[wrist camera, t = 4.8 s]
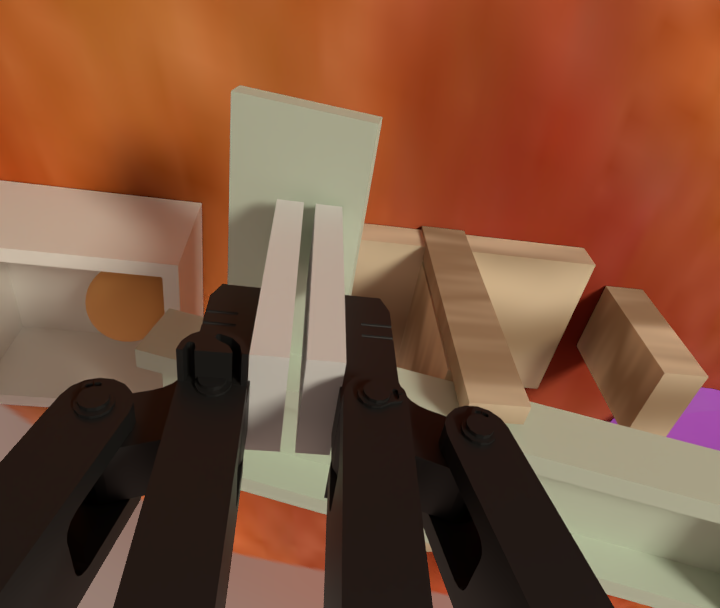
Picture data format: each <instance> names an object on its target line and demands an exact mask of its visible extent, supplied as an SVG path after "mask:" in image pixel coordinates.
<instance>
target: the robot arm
mask: <svg viewBox="0 0 720 608" xmlns="http://www.w3.org/2000/svg"><path fill="white" fill-rule="evenodd" d="M303 209H304V202H298V201H289V200H281V199H277V202H276V207H275V213H274V219H273V224H272V230H271V235H270V241H269V247H268V252H267V258H266V263H265V269H264V274H263V280H262V286H261V288H257V287H247V286H238V285H228V284H222V285H221V286H220V287H219V288H218V289H217V290H216V291H215V292H214V293H212V294H211V295H210V298H209V301H208V305H207V308H206V312H205V315H204V318H203V323H202V325H201V328H200V331H199V332H195V333H192V334H190V335H189V336H187V337H186V338H184V339H183V340H181V342H180V343H179V345H178V346H177V348H176V362H177V380H176V381H175V382H174V383H172V384H169V385H167V386H165V387H162V388H158V389H154V390H149V391H143V392H136V393H132V391H131V390H130V389H129V388H128V387H127V386H126V384H124V383H122V382H119V381H117V380H115V379H108V378H95V379H88V380H84V381H81V382H79V383H77V384H74V385H72V386H70V387H69V388H68V389H67V390H65V391H64V392H63V393H62V394H60V395H59V396H58V398H57V399H56V400H55V401H54V402H53V403H52V404H51V406H50V407H49V408H48V409H47V410H46V411H45V412H44V413H43V415H42V416H41V417H40V418H39V419H38V420H37V421H36V422H35V424H34V425H33V426H32V427H31V428H30V429H29V431H28V432H27V433H26V434H25V435H24V436H23V437H22V438H21V440H20V441H19V442H18V443H17V444H16V445H15V446H14V447H13V449H12V450H11V451H10V452H9V453H8V454H7V455H6V456H5V458H4V459H3V460H2V461H1V462H0V608H77V606H78V605H79V603H80V601H81V600H82V598H83V596H84V595H85V593H86V591H87V590H88V588H89V586H90V584H91V583H92V581H93V579H94V578H95V576H96V574H97V573H98V571H99V569H100V567H101V566H102V564H103V562H104V561H105V559H106V557H107V556H108V554H109V552H110V550H111V549H112V547H113V545H114V544H115V542H116V540H117V538H118V537H119V535H120V534H121V532H122V530H123V528H124V527H125V525H126V523H127V522H128V520H129V518H130V517H131V515H132V513H133V511H134V509H135V508H136V506H137V505H138V503H139V501H140V499H141V496H144V495H145V497H144V501H143V504H142V508H141V511H140V515H139V518H138V522H137V526H136V529H135V533H134V536H133V540H132V543H131V547H130V550H129V554H128V557H127V561H126V564H125V568H124V571H123V575H122V578H121V582H120V585H119V589H118V592H117V596H116V600H115V603H114V607H113V608H225V604H226V596H227V588H228V581H229V573H230V566H231V557H232V550H233V543H234V535H235V527H236V520H237V512H238V504H239V497H240V489H241V481H242V474H243V457H244V450H260V451H274V452H280V446H281V437H282V427H283V417H284V408H285V398H286V389H287V379H288V369H289V360H290V349H291V338H292V327H293V317H294V306H295V295H296V284H297V273H298V263H299V252H300V241H301V230H302V219H303ZM330 450H331V463H330V468H329V473H328V479H327V484H326V490H325V495H324V498H327V522H326V552H325V583H324V608H433V605H432V596H431V588H430V579H429V571H428V562H427V554H426V546H425V537H424V531H425V533H426V536H427V539H428V541H429V544H430V547H431V549H432V552H433V555H434V557H435V560H436V563H437V565H438V568H439V571H440V573H441V576H442V579H443V581H444V584H445V587H446V589H447V592H448V595H449V597H450V600H451V602H452V605H453V608H614V606H613V605H612V603H611V601H610V600H609V598H608V596H607V594H606V593H605V591H604V589H603V588H602V586H601V584H600V583H599V581H598V579H597V577H596V576H595V574H594V572H593V571H592V569H591V567H590V566H589V564H588V562H587V560H586V559H585V557H584V555H583V554H582V552H581V550H580V549H579V547H578V545H577V543H576V542H575V540H574V538H573V537H572V535H571V533H570V532H569V530H568V528H567V526H566V525H565V523H564V521H563V520H562V518H561V516H560V515H559V513H558V511H557V509H556V508H555V506H554V504H553V503H552V501H551V499H550V498H549V496H548V494H547V492H546V491H545V489H544V487H543V486H542V484H541V482H540V481H539V479H538V477H537V475H536V474H535V472H534V470H533V469H532V467H531V465H530V464H529V462H528V460H527V458H526V457H525V455H524V453H523V452H522V450H521V448H520V447H519V445H518V443H517V441H516V440H515V438H514V436H513V435H512V433H511V431H510V430H509V428H508V426H507V425H506V424H505V423H504V422H503V420H502V419H501V418H500V417H498V416H497V415H495V414H494V413H492V412H491V411H489V410H486V409H483V408H481V407H478V406H461V407H458V408H455V409H453V410H452V411H451V412H450V413H449V414H448V415H447V416H444V415H441V414H438V413H436V412H433V411H430V410H427V409H425V408H423V407H420V406H419V405H417V404H416V403H414V402H412V401H411V400H410V399H409V398H408V397H407V395H406V392H405V390H404V389H403V388H402V387H401V386H400V384H399V380H398V372H397V365H396V357H395V349H394V341H393V334H392V329H391V318H390V312H389V310H388V309H387V307H386V306H385V305H384V303H383V302H382V301H381V299H380V298H370V297H361V296H351V295H345V288H344V250H343V211H342V207H340V206H331V205H323V204H316V206H315V214H314V223H313V232H312V240H311V249H310V258H309V266H308V275H307V284H306V299H305V314H304V328H303V343H302V357H301V372H300V387H299V401H298V416H297V430H296V445H295V453H305V454H319V455H330ZM423 528H424V529H423Z"/></svg>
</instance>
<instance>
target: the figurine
mask: <svg viewBox="0 0 720 608" xmlns="http://www.w3.org/2000/svg"><path fill="white" fill-rule="evenodd" d="M610 423H614V424H617V422H616V420H615V418H614V419H613V420H612V421H611V422H610ZM666 437H668V438H672V439H676V440H680V441H684V442H687V443H691V444H695V445H699V446H703V447H707V448H711V449H714V450H718V451H720V391H719V390H715V389H709V388H700V389H699V391H698V392H697V394H696V395H695V396H694V398H693V399H692V401H691V402H690V404H689V405H688V406H687V408H686V409H685V411H684V412H683V413H682V415H681V416H680V418H679V419H678V421H677V422H676V423H675V425H674V426H673V428H672V429H671V430H670V432H669V433H668V435H667V436H666Z"/></svg>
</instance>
